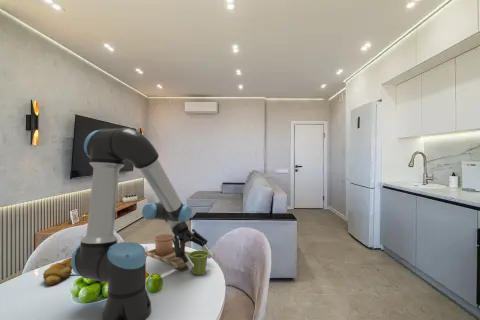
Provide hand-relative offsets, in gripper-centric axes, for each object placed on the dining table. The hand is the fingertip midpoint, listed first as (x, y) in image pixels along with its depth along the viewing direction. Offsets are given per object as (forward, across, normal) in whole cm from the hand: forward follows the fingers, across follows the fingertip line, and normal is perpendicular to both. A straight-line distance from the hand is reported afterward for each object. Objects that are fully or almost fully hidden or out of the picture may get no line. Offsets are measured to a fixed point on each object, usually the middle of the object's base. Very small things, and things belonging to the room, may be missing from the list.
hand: (201, 262), depth 117 cm
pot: (-19, -5, -24) cm, 31 cm away
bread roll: (-32, +37, -40) cm, 64 cm away
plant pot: (+2, 0, -5) cm, 5 cm away
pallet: (-13, -5, -20) cm, 24 cm away
